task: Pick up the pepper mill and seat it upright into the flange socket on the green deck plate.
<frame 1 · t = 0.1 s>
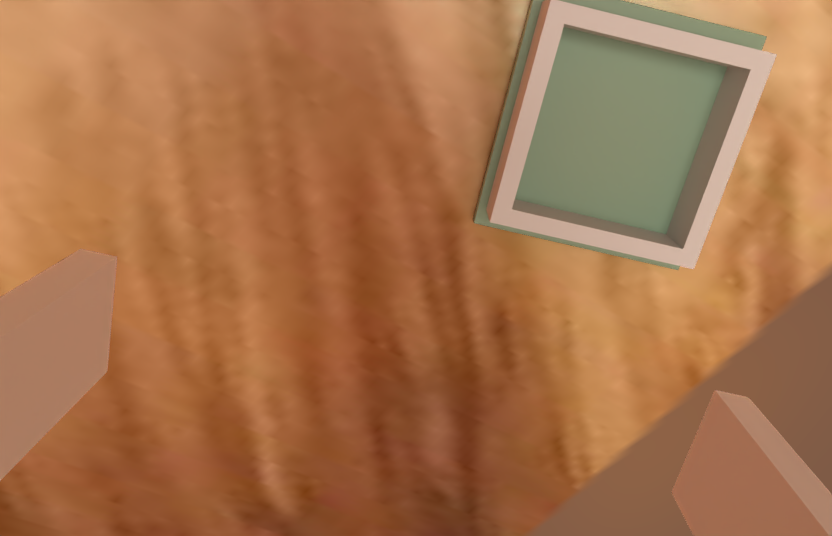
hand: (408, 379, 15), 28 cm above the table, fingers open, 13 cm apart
deck socket: (608, 132, 40), on the table
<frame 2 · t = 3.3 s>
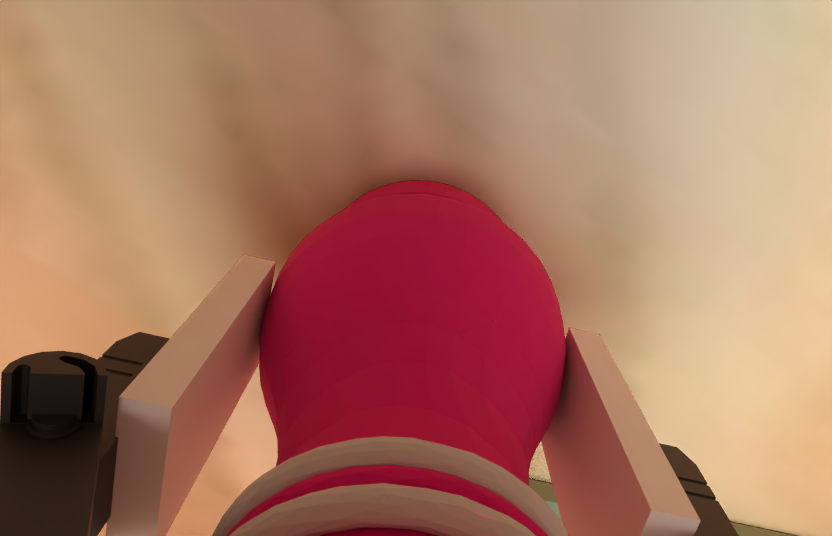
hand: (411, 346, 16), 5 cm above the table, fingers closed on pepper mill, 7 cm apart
pepper mill: (418, 278, 21), on the table, touching gripper
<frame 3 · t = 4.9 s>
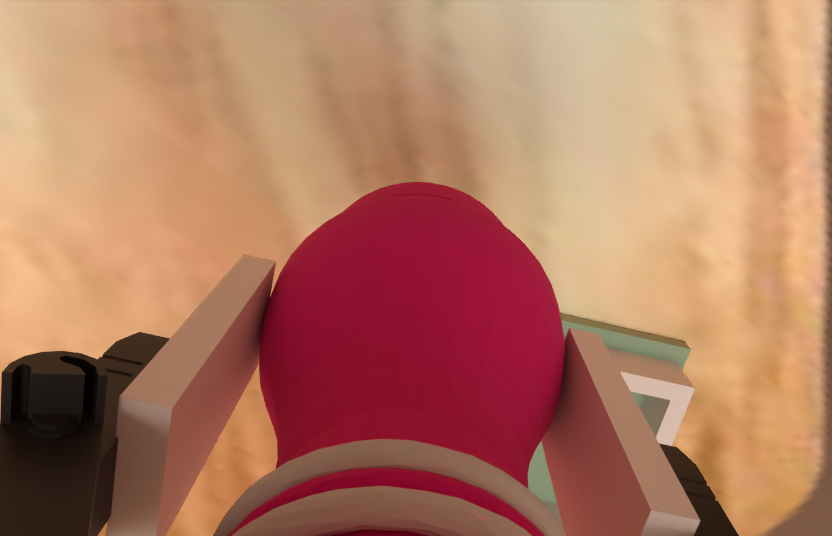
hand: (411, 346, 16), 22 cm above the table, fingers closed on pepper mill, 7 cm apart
pepper mill: (417, 279, 21), point 17 cm above the table, touching gripper
deck socket: (543, 420, 42), on the table
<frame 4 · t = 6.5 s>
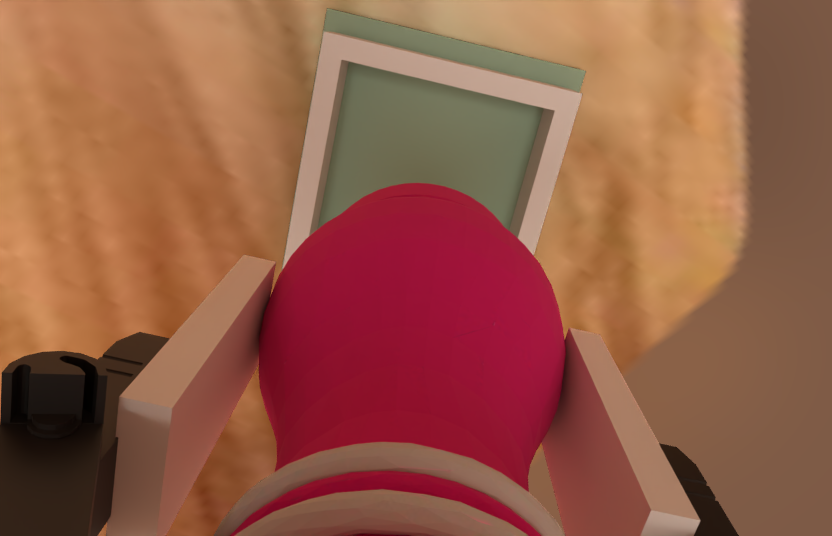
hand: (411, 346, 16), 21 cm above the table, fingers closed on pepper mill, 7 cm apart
pepper mill: (417, 280, 21), point 16 cm above the table, touching gripper
deck socket: (425, 174, 36), on the table
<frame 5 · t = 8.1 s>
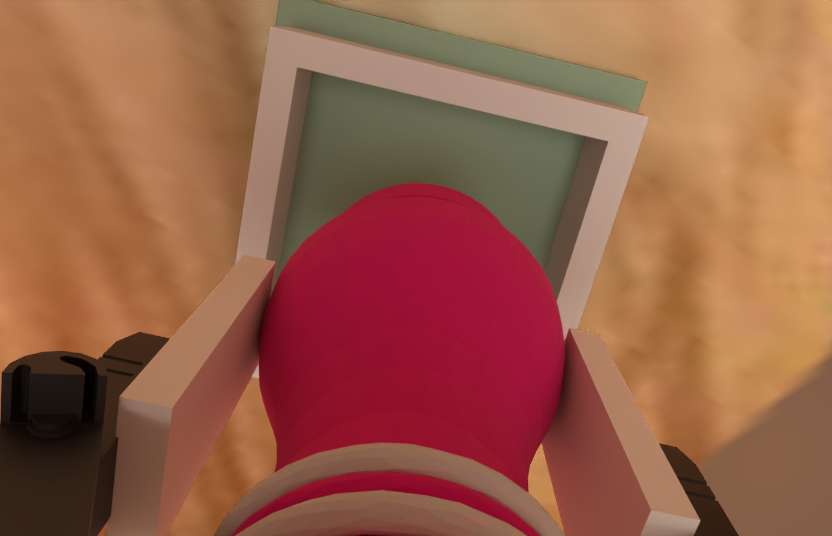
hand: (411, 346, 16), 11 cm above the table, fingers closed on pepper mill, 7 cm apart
pepper mill: (417, 281, 21), point 6 cm above the table, touching gripper
deck socket: (421, 221, 27), on the table
when the fingers open (6 cm above the table, at t = 9.5 s): pepper mill stays where it is, resting on deck socket.
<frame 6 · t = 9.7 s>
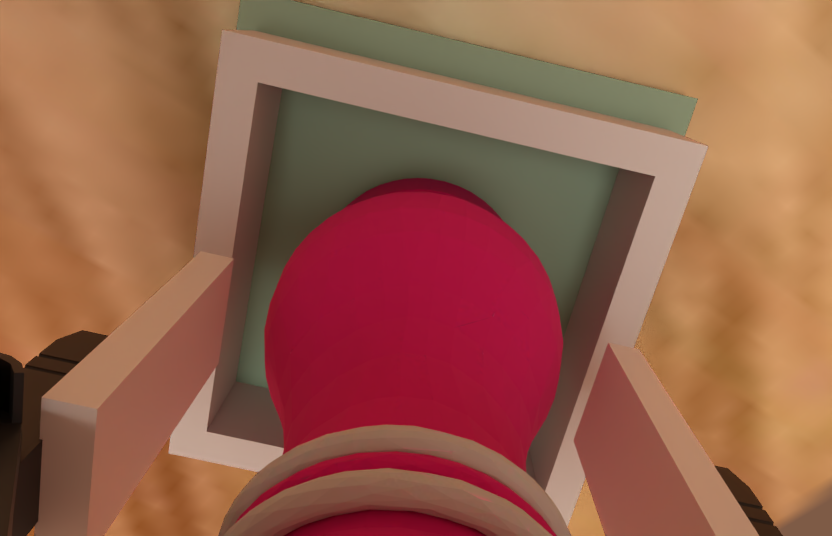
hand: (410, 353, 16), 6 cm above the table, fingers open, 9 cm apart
pepper mill: (418, 274, 21), point 1 cm above the table, touching deck socket
deck socket: (417, 265, 22), on the table
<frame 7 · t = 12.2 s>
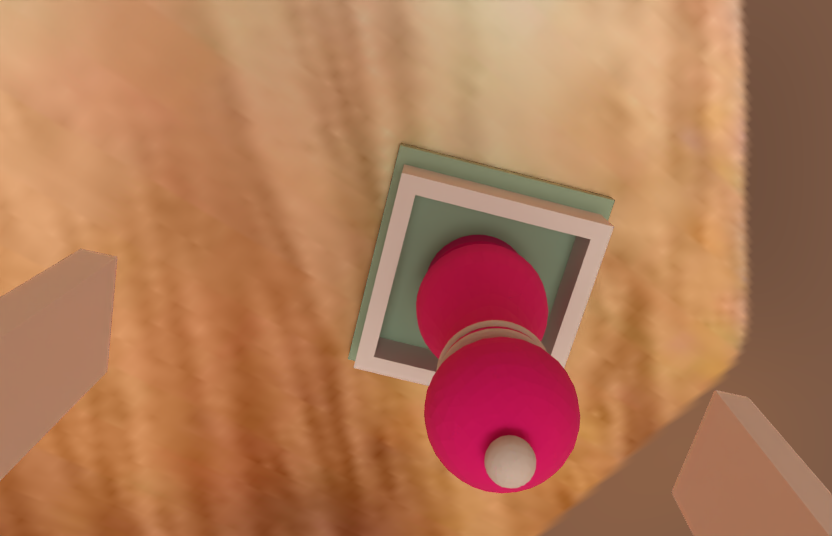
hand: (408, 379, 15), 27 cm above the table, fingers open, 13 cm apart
pepper mill: (476, 282, 42), point 1 cm above the table, touching deck socket
deck socket: (474, 278, 43), on the table
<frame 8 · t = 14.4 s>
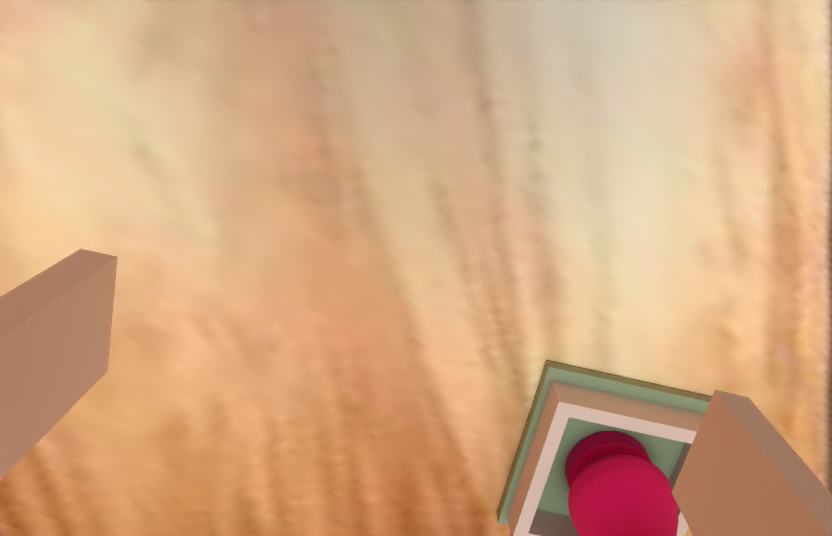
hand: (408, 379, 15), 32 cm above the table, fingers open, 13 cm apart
pepper mill: (605, 464, 51), point 1 cm above the table, touching deck socket
deck socket: (602, 458, 52), on the table
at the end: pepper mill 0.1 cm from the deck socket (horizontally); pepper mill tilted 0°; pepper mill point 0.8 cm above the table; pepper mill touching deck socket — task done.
